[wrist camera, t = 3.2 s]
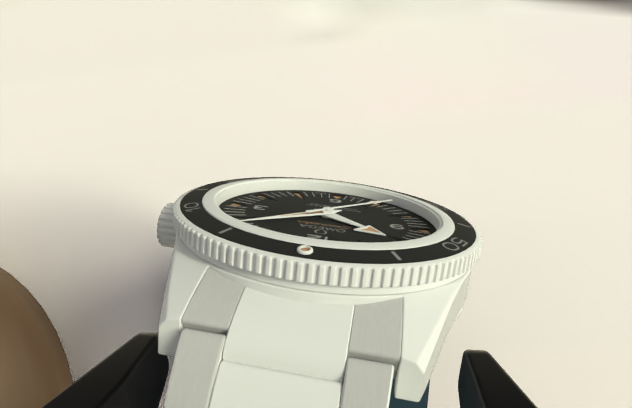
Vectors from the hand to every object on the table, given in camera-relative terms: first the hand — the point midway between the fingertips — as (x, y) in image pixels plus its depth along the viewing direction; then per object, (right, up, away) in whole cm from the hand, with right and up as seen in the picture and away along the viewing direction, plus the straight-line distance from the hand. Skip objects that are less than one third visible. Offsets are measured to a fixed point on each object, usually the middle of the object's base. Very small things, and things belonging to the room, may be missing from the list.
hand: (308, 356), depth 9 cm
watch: (+1, -2, +6) cm, 7 cm away
